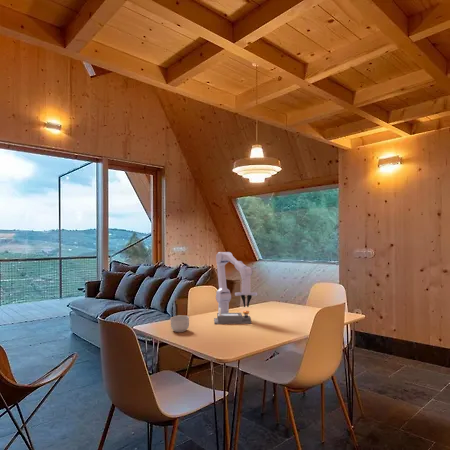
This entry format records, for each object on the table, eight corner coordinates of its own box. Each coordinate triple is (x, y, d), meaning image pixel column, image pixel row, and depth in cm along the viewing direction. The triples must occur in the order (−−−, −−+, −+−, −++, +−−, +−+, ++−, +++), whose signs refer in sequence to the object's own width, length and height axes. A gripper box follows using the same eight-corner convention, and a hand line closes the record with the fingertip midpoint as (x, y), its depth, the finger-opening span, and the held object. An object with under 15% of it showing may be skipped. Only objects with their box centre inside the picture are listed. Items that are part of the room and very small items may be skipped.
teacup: (188, 333, 209) (188, 319, 210) (168, 333, 209) (169, 319, 210) (190, 327, 223) (190, 314, 224) (172, 327, 223) (172, 314, 224)
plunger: (242, 315, 241) (242, 310, 241) (248, 315, 241) (248, 310, 241) (243, 317, 237) (243, 312, 237) (249, 317, 237) (249, 312, 237)
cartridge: (218, 318, 241) (218, 307, 241) (238, 318, 242) (238, 307, 242) (218, 320, 235) (218, 309, 235) (238, 320, 236) (239, 309, 236)
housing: (214, 319, 244) (214, 312, 244) (248, 319, 245) (248, 312, 245) (214, 324, 232) (214, 316, 232) (251, 323, 233) (251, 316, 233)
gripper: (235, 286, 235) (235, 308, 235) (258, 286, 236) (258, 308, 236) (234, 285, 242) (234, 306, 242) (256, 285, 243) (256, 305, 243)
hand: (246, 306), depth 239 cm, fingers closed
